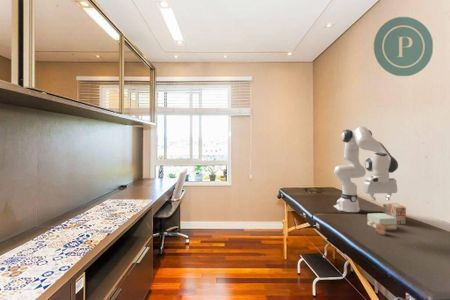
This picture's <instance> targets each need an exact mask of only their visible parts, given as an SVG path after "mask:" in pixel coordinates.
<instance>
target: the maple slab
mask: <svg viewBox="0 0 450 300" xmlns="http://www.w3.org/2000/svg"><path fill="white" fill-rule="evenodd" d="M366 222H367V223H366V224H367V225H368V226H370V227H371V228H374V229H376V223H375V222H372V221H370V220H368V219H367V221H366ZM397 225H398V224H388V225H385V231H393V230H394V231H397V228H398V227H397Z"/></svg>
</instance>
